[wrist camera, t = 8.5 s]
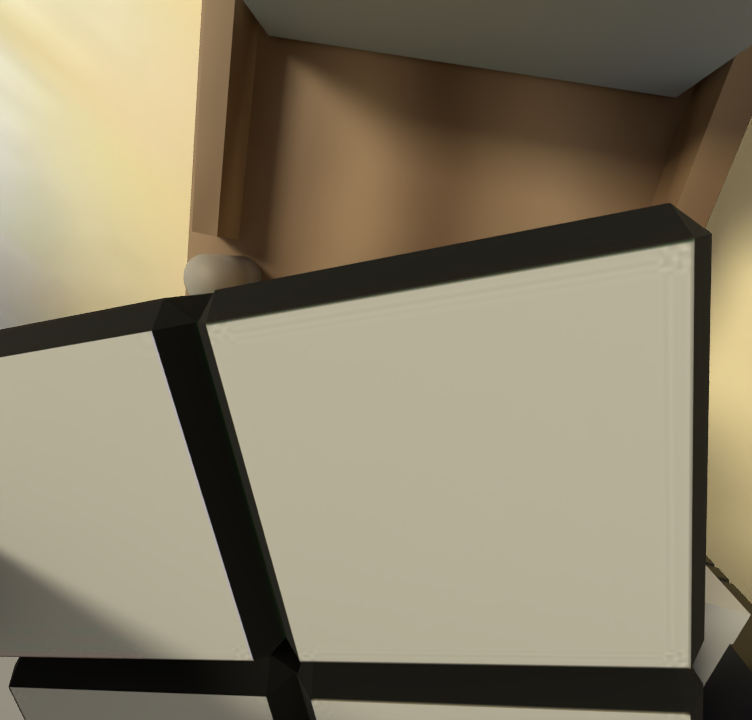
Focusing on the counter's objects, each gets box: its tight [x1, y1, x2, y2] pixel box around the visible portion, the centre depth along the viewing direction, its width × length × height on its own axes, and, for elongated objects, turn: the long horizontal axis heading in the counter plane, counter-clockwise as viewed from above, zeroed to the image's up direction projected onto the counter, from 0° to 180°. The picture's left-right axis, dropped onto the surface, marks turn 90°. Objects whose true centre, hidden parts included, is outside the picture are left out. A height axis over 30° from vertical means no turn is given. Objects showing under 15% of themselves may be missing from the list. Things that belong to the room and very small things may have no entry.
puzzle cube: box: [0, 203, 712, 720], centre depth 10 cm, size 10×10×10 cm
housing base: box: [184, 0, 752, 296], centre depth 14 cm, size 18×24×4 cm
